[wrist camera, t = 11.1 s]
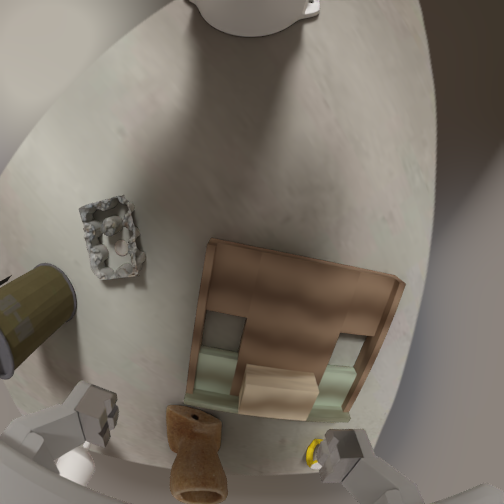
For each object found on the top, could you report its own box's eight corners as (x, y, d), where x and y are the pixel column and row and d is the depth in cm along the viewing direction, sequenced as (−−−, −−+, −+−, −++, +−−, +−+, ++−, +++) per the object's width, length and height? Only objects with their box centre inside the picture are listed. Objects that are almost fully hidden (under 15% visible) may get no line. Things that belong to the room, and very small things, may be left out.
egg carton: (150, 270, 39) (140, 280, 35) (104, 274, 39) (91, 284, 35) (136, 192, 36) (124, 194, 32) (89, 201, 36) (74, 205, 32)
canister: (88, 306, 40) (12, 380, 21) (55, 331, 42) (-12, 397, 22) (50, 248, 38) (-43, 295, 18) (20, 279, 39) (-58, 329, 20)
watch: (313, 450, 49) (317, 473, 43) (301, 449, 49) (304, 472, 43) (327, 435, 47) (332, 459, 41) (314, 433, 47) (318, 458, 41)
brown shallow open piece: (211, 237, 37) (205, 247, 33) (394, 275, 39) (410, 287, 34) (189, 383, 43) (183, 403, 39) (341, 402, 45) (348, 422, 40)
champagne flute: (116, 412, 46) (71, 508, 23) (117, 431, 48) (79, 520, 24) (86, 399, 46) (33, 488, 22) (88, 419, 47) (44, 503, 24)
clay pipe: (227, 456, 49) (223, 516, 34) (169, 446, 48) (154, 504, 34) (237, 409, 45) (234, 480, 31) (168, 397, 45) (146, 465, 30)
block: (246, 363, 40) (246, 383, 36) (313, 372, 41) (319, 392, 36) (239, 393, 42) (238, 413, 37) (302, 401, 42) (305, 420, 38)
